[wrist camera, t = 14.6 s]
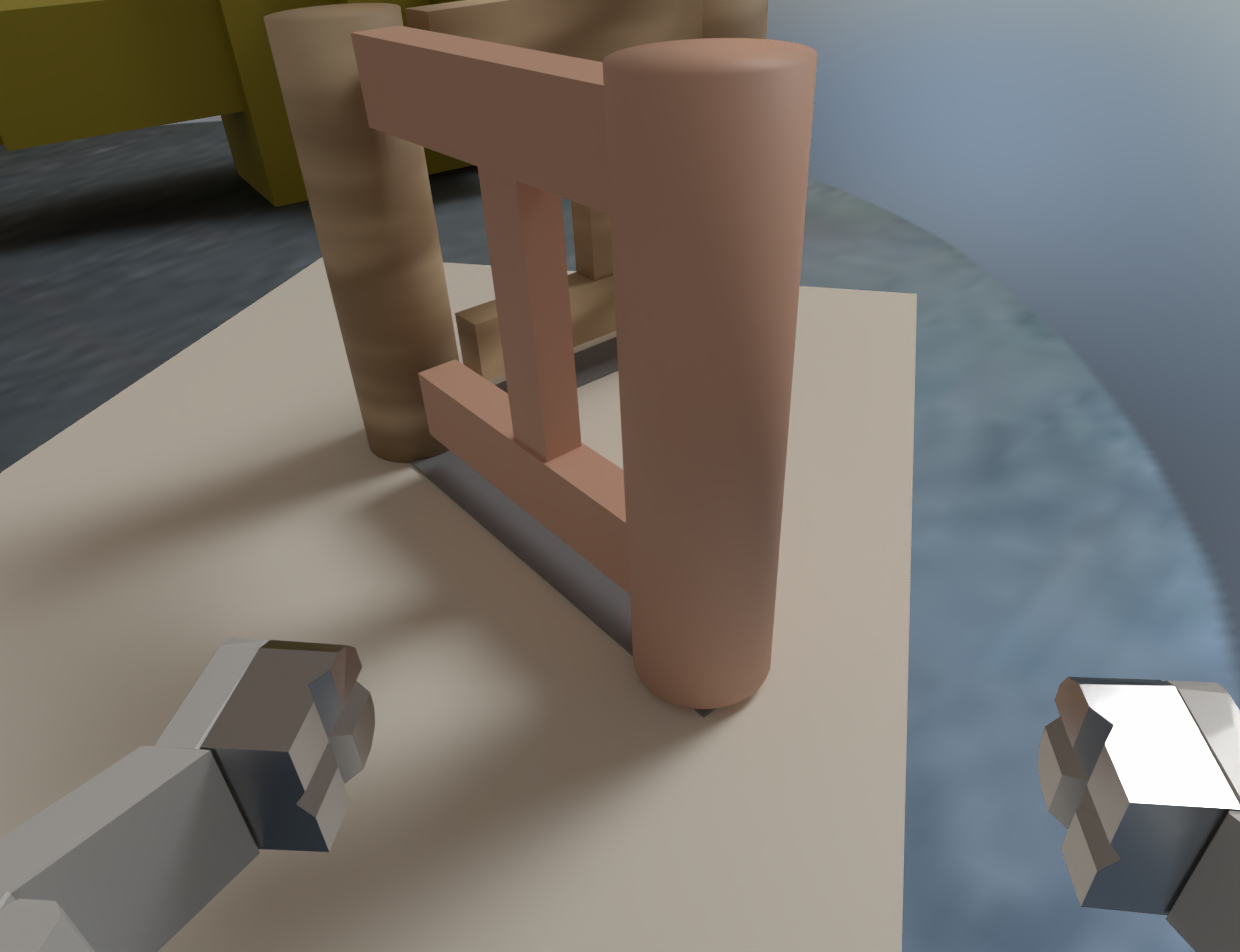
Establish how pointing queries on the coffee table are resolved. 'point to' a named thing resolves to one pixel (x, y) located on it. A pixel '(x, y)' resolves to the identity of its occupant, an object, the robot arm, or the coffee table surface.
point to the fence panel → (633, 313)
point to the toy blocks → (157, 77)
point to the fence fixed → (401, 196)
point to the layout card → (477, 653)
